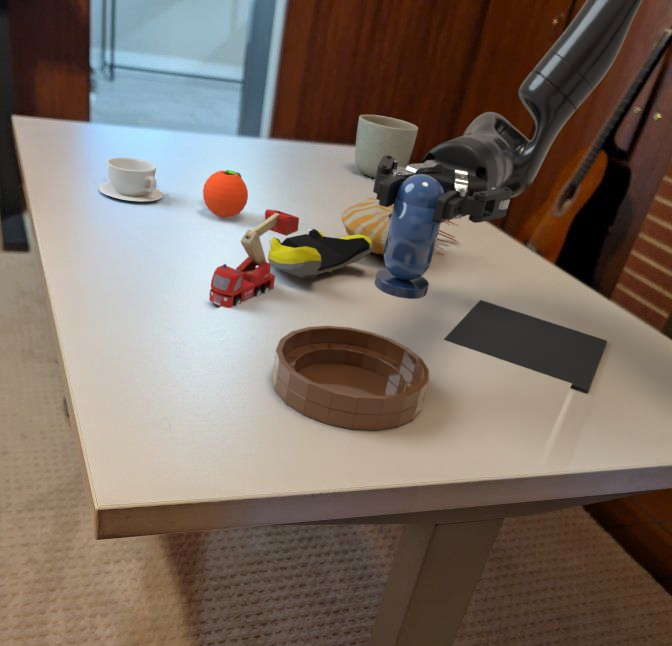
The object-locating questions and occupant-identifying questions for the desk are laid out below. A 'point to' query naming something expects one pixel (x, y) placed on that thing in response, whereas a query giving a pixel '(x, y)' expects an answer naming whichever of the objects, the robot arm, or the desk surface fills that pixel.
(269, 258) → the black yellow sneaker
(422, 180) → the blue pill figure
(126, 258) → the desk surface
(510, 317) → the mat
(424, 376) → the bowl
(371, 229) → the nautilus shell
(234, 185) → the clementine
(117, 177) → the teacup
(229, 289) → the toy fire truck
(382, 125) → the planter
